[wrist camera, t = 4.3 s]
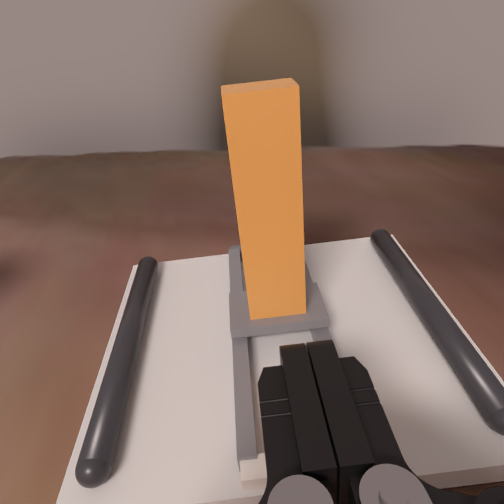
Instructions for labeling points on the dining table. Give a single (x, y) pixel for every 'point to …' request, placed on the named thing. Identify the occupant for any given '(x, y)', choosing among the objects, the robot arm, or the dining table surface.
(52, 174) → the dining table surface
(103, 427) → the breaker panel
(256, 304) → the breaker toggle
